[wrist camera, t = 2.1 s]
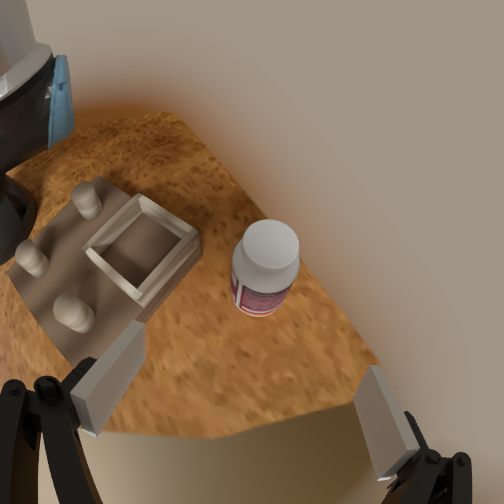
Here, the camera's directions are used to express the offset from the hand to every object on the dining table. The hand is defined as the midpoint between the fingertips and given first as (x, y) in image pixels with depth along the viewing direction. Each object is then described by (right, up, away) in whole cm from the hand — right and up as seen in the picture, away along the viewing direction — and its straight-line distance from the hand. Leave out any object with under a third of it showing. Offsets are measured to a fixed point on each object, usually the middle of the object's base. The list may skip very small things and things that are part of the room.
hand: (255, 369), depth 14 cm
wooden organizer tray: (-20, +4, +17) cm, 26 cm away
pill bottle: (0, +2, +18) cm, 18 cm away
